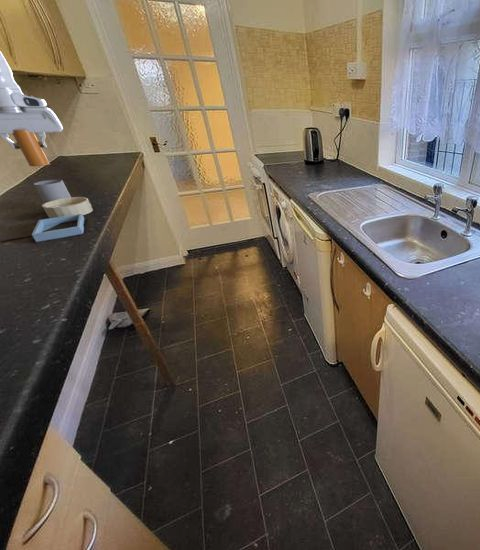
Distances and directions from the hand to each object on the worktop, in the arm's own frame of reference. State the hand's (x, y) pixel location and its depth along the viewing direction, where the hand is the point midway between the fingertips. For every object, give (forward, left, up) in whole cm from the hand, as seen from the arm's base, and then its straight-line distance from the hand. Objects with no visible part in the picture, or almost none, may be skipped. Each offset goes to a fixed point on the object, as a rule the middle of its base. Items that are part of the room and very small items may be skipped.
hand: (31, 148), depth 98 cm
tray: (-1, -13, -25) cm, 28 cm away
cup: (-3, +19, -25) cm, 32 cm away
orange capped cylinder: (0, 0, -5) cm, 5 cm away
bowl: (+1, +5, -25) cm, 25 cm away
